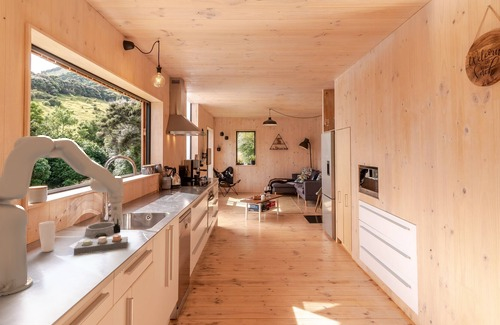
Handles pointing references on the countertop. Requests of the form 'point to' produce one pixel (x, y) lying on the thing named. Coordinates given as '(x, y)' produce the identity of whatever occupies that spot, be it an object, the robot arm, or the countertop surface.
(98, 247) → the button panel
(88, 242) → the sage button
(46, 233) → the drinking glass
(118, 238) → the terracotta button
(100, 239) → the cream button
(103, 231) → the dog bowl
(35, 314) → the countertop surface
